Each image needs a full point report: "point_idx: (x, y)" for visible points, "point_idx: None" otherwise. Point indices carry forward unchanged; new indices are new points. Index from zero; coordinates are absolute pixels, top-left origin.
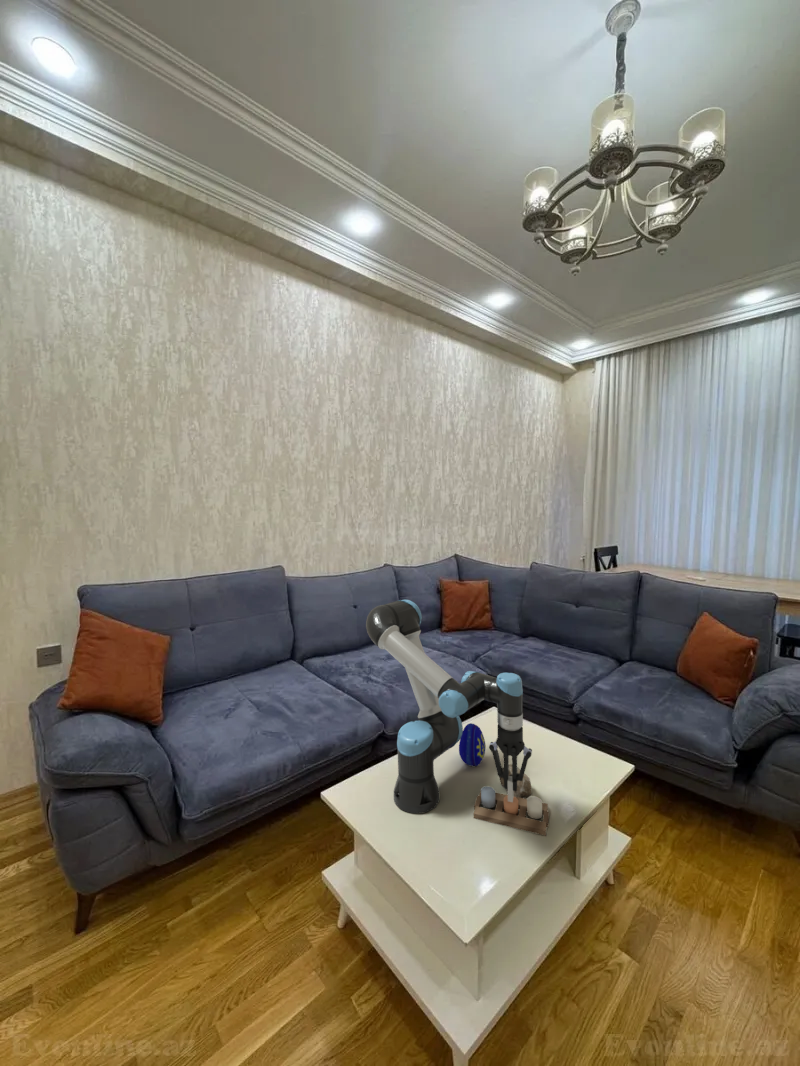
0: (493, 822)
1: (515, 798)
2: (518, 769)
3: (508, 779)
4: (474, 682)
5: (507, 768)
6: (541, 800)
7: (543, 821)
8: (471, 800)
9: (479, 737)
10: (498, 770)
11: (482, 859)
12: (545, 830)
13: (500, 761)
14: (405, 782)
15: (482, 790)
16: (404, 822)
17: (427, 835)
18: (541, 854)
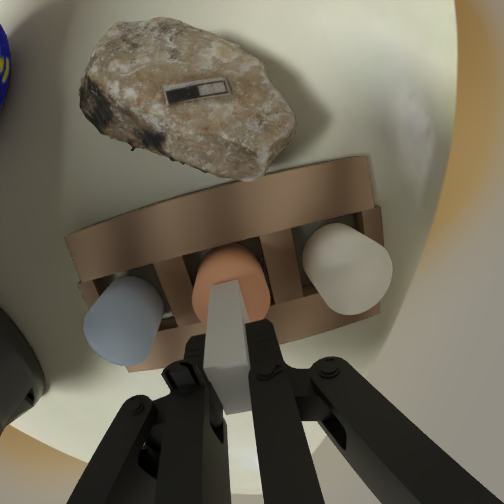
0: None
1: (247, 277)
2: (176, 37)
3: (224, 402)
4: None
5: (229, 500)
6: (389, 255)
7: None
8: (73, 289)
9: None
10: (153, 472)
11: (236, 440)
12: (379, 312)
13: (116, 483)
14: None
15: (96, 346)
16: (49, 418)
17: (102, 433)
18: (364, 367)
